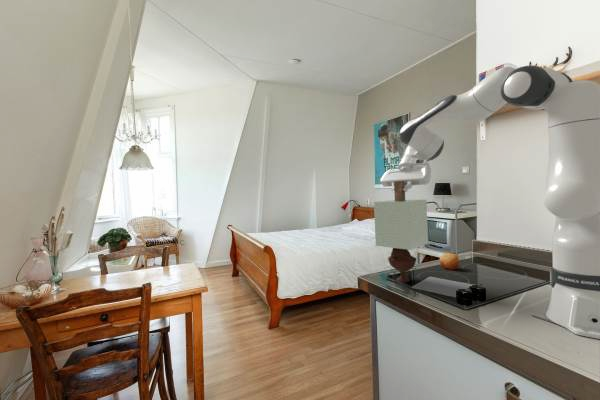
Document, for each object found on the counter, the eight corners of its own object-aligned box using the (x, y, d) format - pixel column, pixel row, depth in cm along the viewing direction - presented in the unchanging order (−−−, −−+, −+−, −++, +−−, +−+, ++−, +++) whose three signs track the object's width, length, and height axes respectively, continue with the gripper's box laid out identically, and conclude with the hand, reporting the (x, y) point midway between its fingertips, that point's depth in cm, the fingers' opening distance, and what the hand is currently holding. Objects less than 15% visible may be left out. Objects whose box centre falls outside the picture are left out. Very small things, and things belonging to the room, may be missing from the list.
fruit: (467, 266, 126) (458, 252, 125) (454, 276, 125) (445, 262, 124) (454, 262, 134) (446, 248, 133) (442, 271, 133) (433, 258, 132)
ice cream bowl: (420, 285, 109) (418, 247, 109) (390, 285, 111) (388, 247, 111) (414, 277, 119) (413, 242, 119) (387, 276, 122) (386, 242, 121)
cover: (428, 243, 114) (425, 179, 114) (411, 250, 104) (408, 180, 103) (394, 240, 125) (391, 182, 125) (375, 245, 115) (373, 182, 114)
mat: (475, 286, 105) (475, 284, 105) (460, 299, 94) (460, 298, 94) (429, 277, 118) (429, 276, 118) (411, 288, 106) (410, 287, 106)
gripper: (384, 165, 126) (373, 187, 120) (430, 159, 111) (421, 184, 105) (389, 174, 129) (379, 197, 123) (435, 170, 114) (426, 195, 108)
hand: (398, 191), depth 114 cm, fingers closed on cover, 3 cm apart
